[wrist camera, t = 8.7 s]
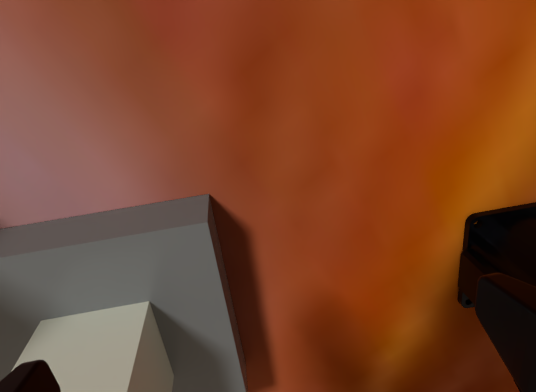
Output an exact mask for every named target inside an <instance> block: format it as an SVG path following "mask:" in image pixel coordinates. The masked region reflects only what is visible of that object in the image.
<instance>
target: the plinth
mask: <svg viewBox="0 0 536 392" xmlns="http://www.w3.org/2000/svg"><path fill="white" fill-rule="evenodd" d="M147 301H149V302H150V305H151V308H152V311H153V314H154V317H155V320H156V323H157V326H158V329H159V332H160V335H161V338H162V341H163V344H164V347H165V350H166V353H167V356H168V359H169V362H170V365H171V368H172V371H173V374H174V379H173V387H172V392H248V386H247V374H246V363H245V358H244V354H243V349H242V344H241V340H240V335H239V331H238V326H237V321H236V317H235V312H234V308H233V303H232V298H231V294H230V289H229V284H228V280H227V275H226V271H225V266H224V261H223V257H222V252H221V248H220V243H219V238H218V234H217V229H216V225H215V220H214V215H213V211H212V206H211V202H210V197H209V194H206V195H200V196H194V197H188V198H182V199H176V200H170V201H164V202H158V203H152V204H146V205H141V206H135V207H129V208H123V209H117V210H111V211H105V212H99V213H93V214H87V215H81V216H75V217H69V218H63V219H57V220H51V221H45V222H39V223H33V224H27V225H22V226H16V227H10V228H4V229H0V381H1V380H2V379H3V378H4V377H6V376H7V375H8V374H9V373H10V372H11V371H12V369H13V367H14V366H15V364H16V362H17V361H18V359H19V357H20V355H21V354H22V352H23V350H24V349H25V347H26V345H27V344H28V342H29V340H30V338H31V337H32V335H33V333H34V332H35V330H36V328H37V326H38V325H39V323H40V321H42V320H47V319H53V318H58V317H64V316H69V315H75V314H81V313H86V312H92V311H97V310H103V309H108V308H114V307H119V306H125V305H130V304H136V303H142V302H147Z"/></svg>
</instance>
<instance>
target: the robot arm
mask: <svg viewBox="0 0 536 392" xmlns="http://www.w3.org/2000/svg"><path fill="white" fill-rule="evenodd" d="M476 221H478V222H477V223H476V224H474V223H475V222H476ZM458 287H459V292H458V302H459V303H460V304H461V305H462V306H463V307H464V308H470V307H475V311H476V315H477V317H478V319H479V321H480V322H481V324H482V326H483V327H484V329H485V331H486V333H487V334H488V336H489V338H490V339H491V341H492V343H493V345H494V346H495V348H496V350H497V351H498V353H499V355H500V356H501V358H502V360H503V362H504V363H505V365H506V367H507V368H508V370H509V372H510V373H511V375H512V377H513V378H514V382H515V384H516V385H517V387H518V389H519V391H520V392H536V202H535V203H529V204H524V205H518V206H512V207H507V208H501V209H496V210H490V211H484V212H479V213H474V214H471V215H470V216H469V217H468V218H467V219H466V222H465V232H464V242H463V251H462V253H461V260H460V270H459V280H458ZM467 299H468V300H467ZM0 392H61V390H60V386H59V384H58V382H57V380H56V378H55V376H54V375H53V373H52V371H51V369H50V367H49V365H48V363H47V362H46V361H44V360H35V361H29V362H24V363H22V364H20V365H18V366H17V367H16V368H15V369H14V370H12V371H11V372H10V373H9V374H8V375H7V376H6V377H4V378H3V379H2V380H1V381H0Z"/></svg>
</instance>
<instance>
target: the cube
mask: <svg viewBox="0 0 536 392" xmlns="http://www.w3.org/2000/svg"><path fill="white" fill-rule="evenodd" d="M35 360H44V361H46V362H47V363H48V365H49V367H50V369H51V371H52V373H53V375H54V376H55V378H56V380H57V382H58V384H59V386H60V390H61V392H172V387H173V379H174V374H173V371H172V368H171V365H170V362H169V359H168V356H167V353H166V350H165V347H164V344H163V341H162V338H161V335H160V332H159V329H158V326H157V323H156V320H155V317H154V314H153V311H152V308H151V305H150V302H149V301H147V302H142V303H136V304H130V305H125V306H119V307H114V308H108V309H103V310H97V311H92V312H86V313H81V314H75V315H69V316H64V317H58V318H53V319H47V320H42V321H40V323H39V325H38V326H37V328H36V330H35V332H34V333H33V335H32V337H31V338H30V340H29V342H28V344H27V345H26V347H25V349H24V350H23V352H22V354H21V355H20V357H19V359H18V361H17V362H16V364H15V366H14V367H13V369H12V370H14V369H15V368H16V367H17V366H18V365H20V364H22V363H24V362H29V361H35Z"/></svg>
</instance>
